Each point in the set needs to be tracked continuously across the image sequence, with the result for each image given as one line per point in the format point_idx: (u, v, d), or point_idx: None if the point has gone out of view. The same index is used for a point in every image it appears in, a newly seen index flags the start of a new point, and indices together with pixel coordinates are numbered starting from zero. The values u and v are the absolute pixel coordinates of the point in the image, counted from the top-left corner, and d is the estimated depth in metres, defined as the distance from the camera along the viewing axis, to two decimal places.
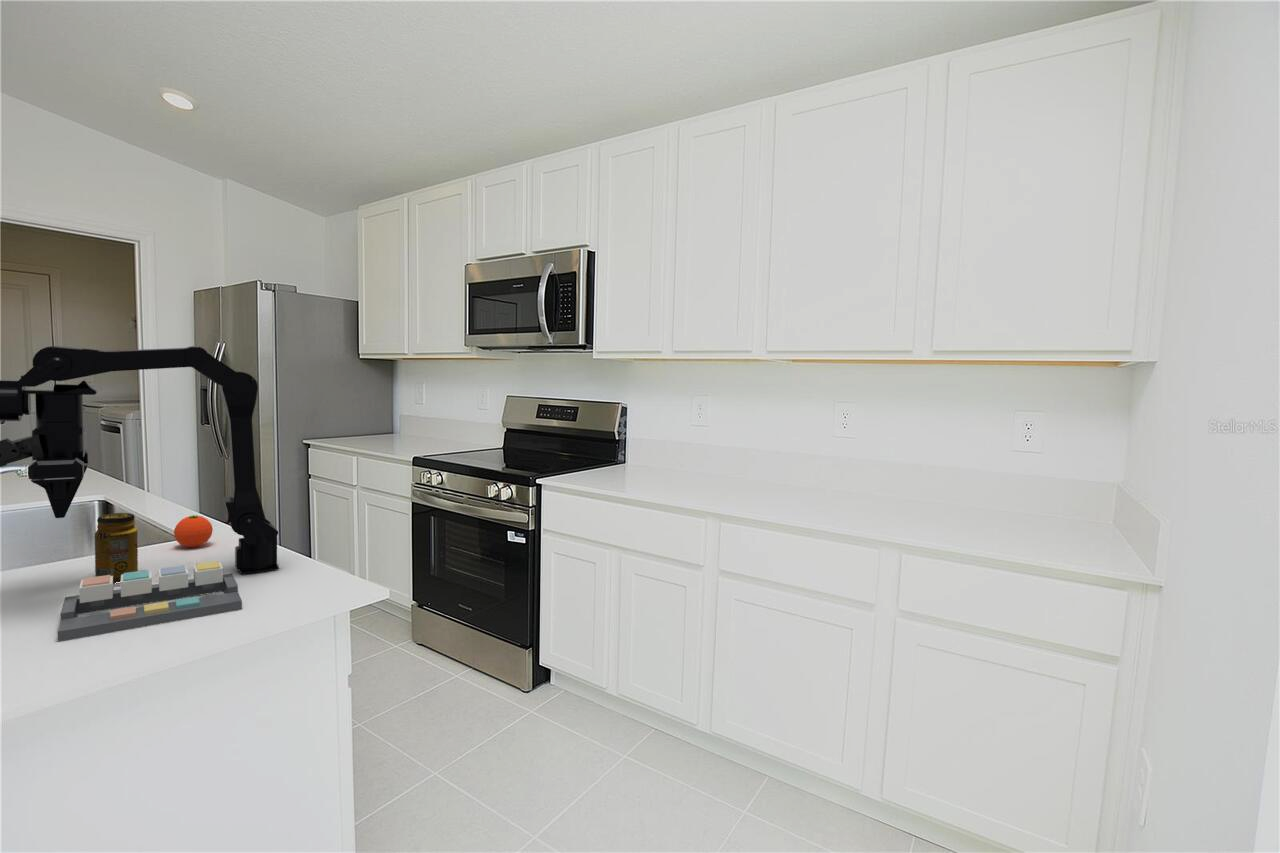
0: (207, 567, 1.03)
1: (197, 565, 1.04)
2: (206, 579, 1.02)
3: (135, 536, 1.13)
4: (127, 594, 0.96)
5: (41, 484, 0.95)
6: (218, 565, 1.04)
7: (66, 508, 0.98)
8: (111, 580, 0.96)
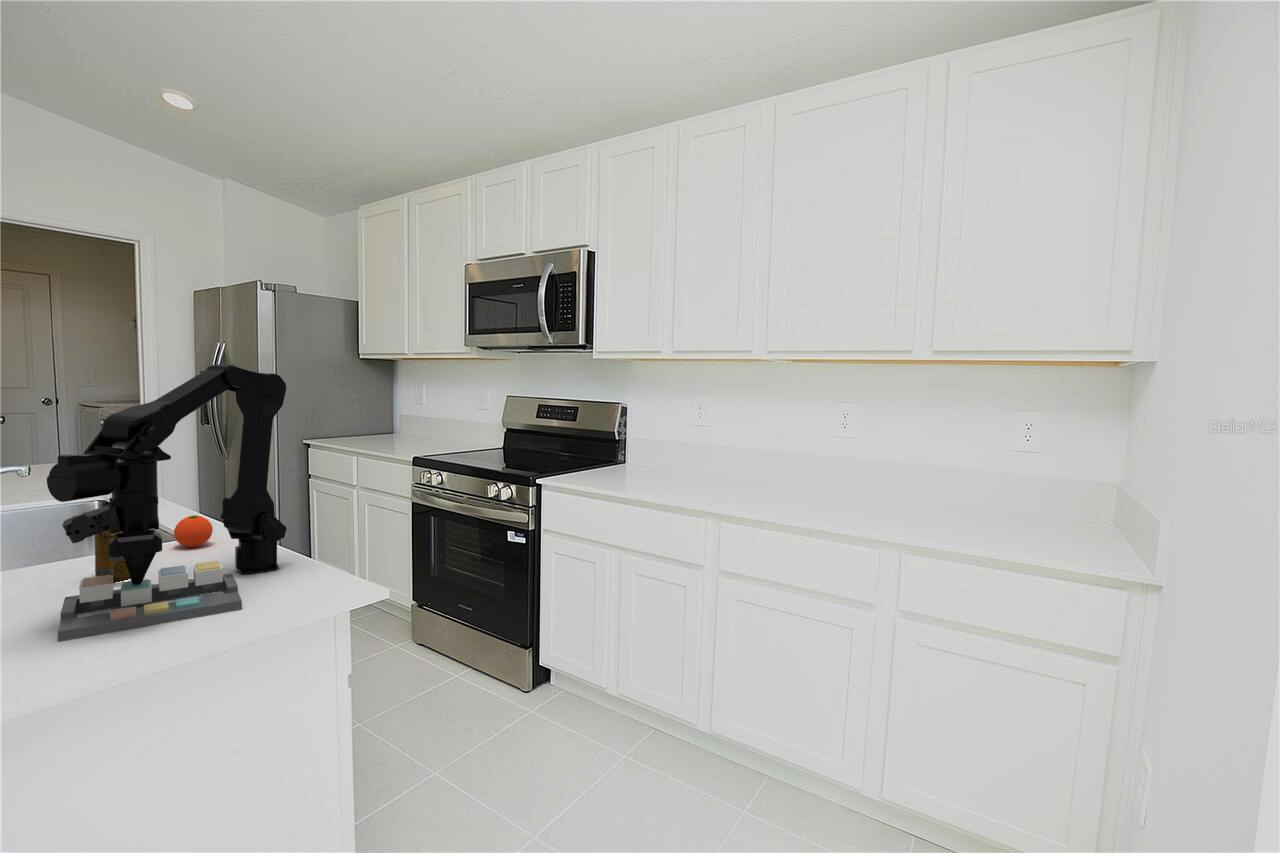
0: (207, 567, 1.03)
1: (197, 565, 1.04)
2: (206, 579, 1.02)
3: None
4: (127, 604, 0.96)
5: None
6: (218, 565, 1.04)
7: (143, 574, 0.98)
8: (111, 580, 0.96)
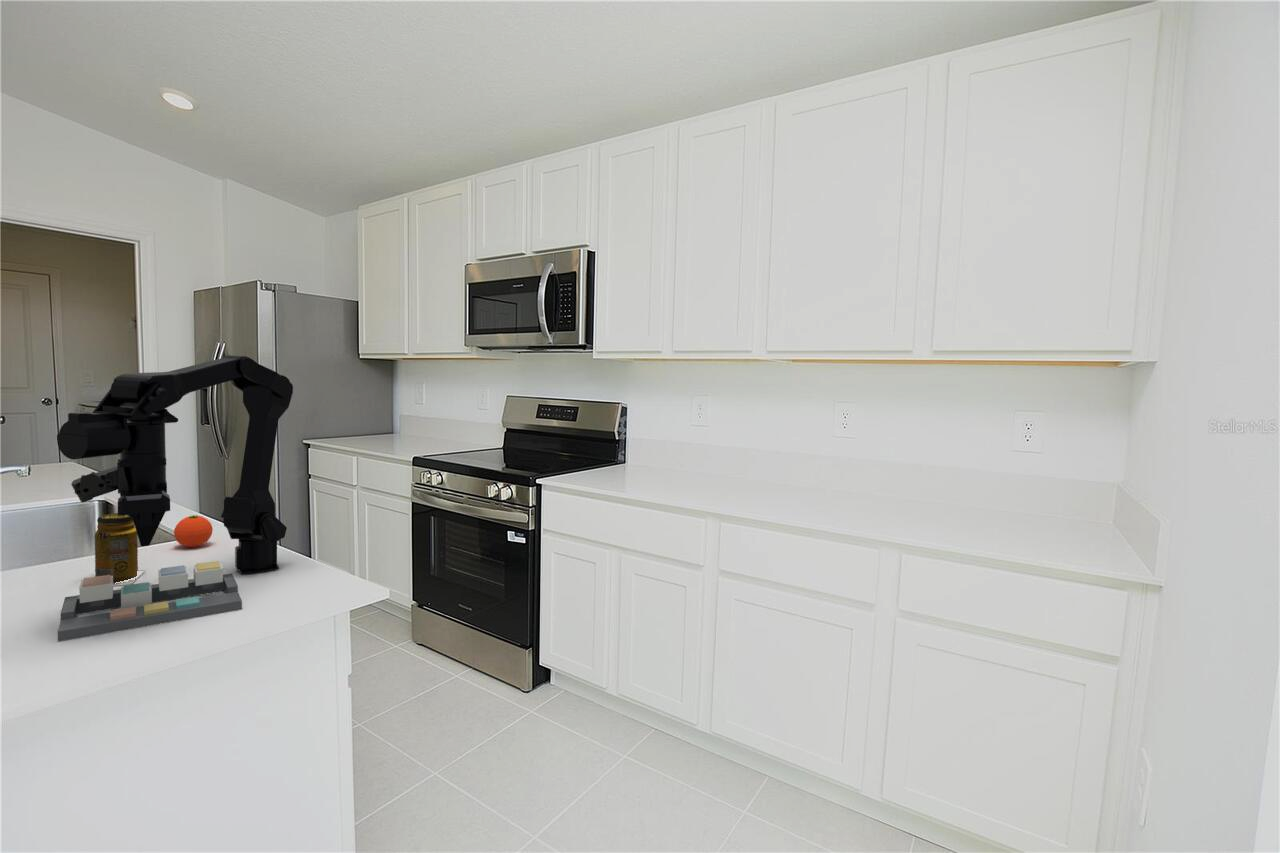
0: (207, 567, 1.03)
1: (197, 565, 1.04)
2: (206, 579, 1.02)
3: (135, 536, 1.13)
4: (127, 607, 0.96)
5: None
6: (218, 565, 1.04)
7: (151, 536, 0.98)
8: (111, 580, 0.96)
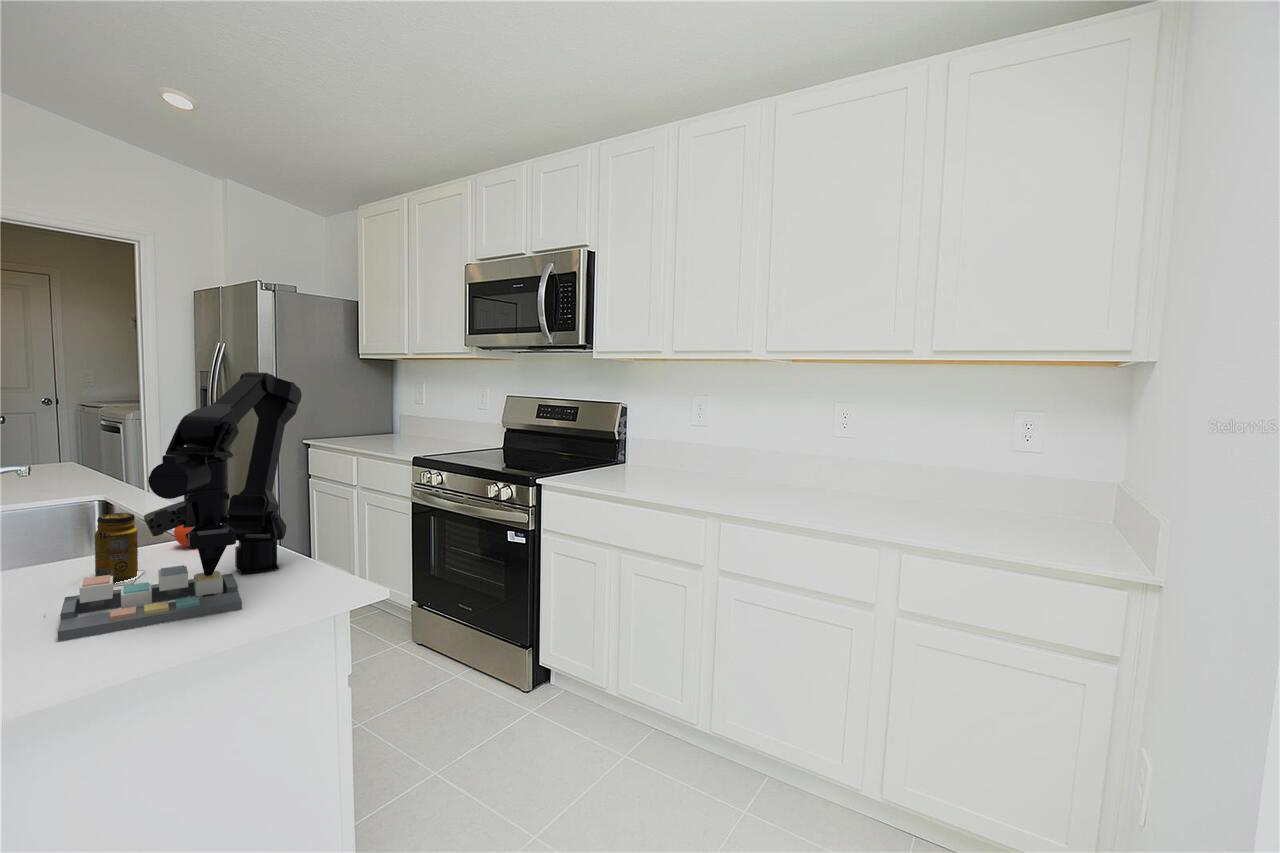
0: (207, 577, 1.03)
1: (197, 575, 1.04)
2: (206, 589, 1.03)
3: (135, 536, 1.13)
4: (127, 607, 0.96)
5: None
6: (218, 575, 1.04)
7: (214, 566, 1.04)
8: (111, 580, 0.96)
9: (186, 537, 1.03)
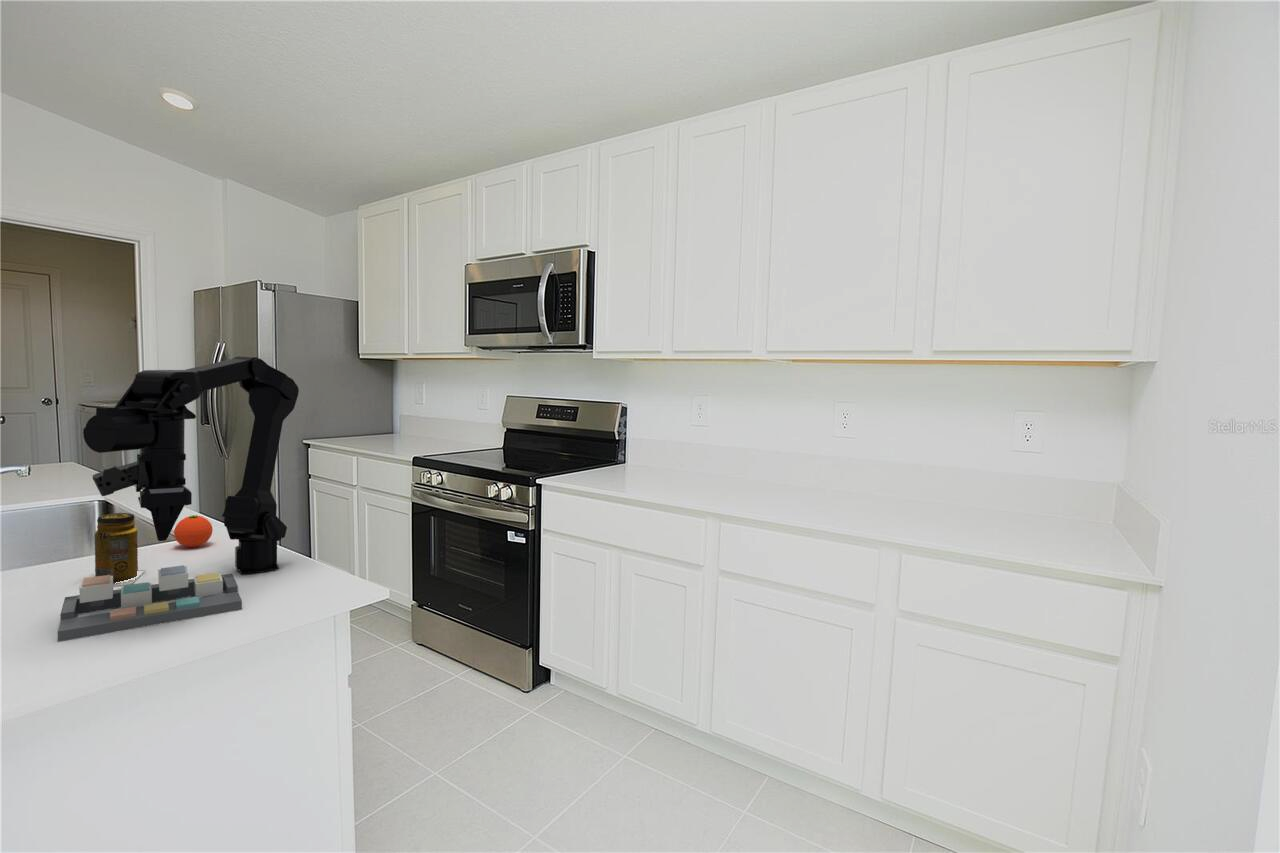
0: (207, 579, 1.03)
1: (197, 577, 1.04)
2: (206, 591, 1.03)
3: (135, 536, 1.13)
4: (127, 607, 0.96)
5: (148, 507, 0.96)
6: (218, 577, 1.04)
7: (169, 531, 0.99)
8: (111, 580, 0.96)
9: (138, 499, 0.98)
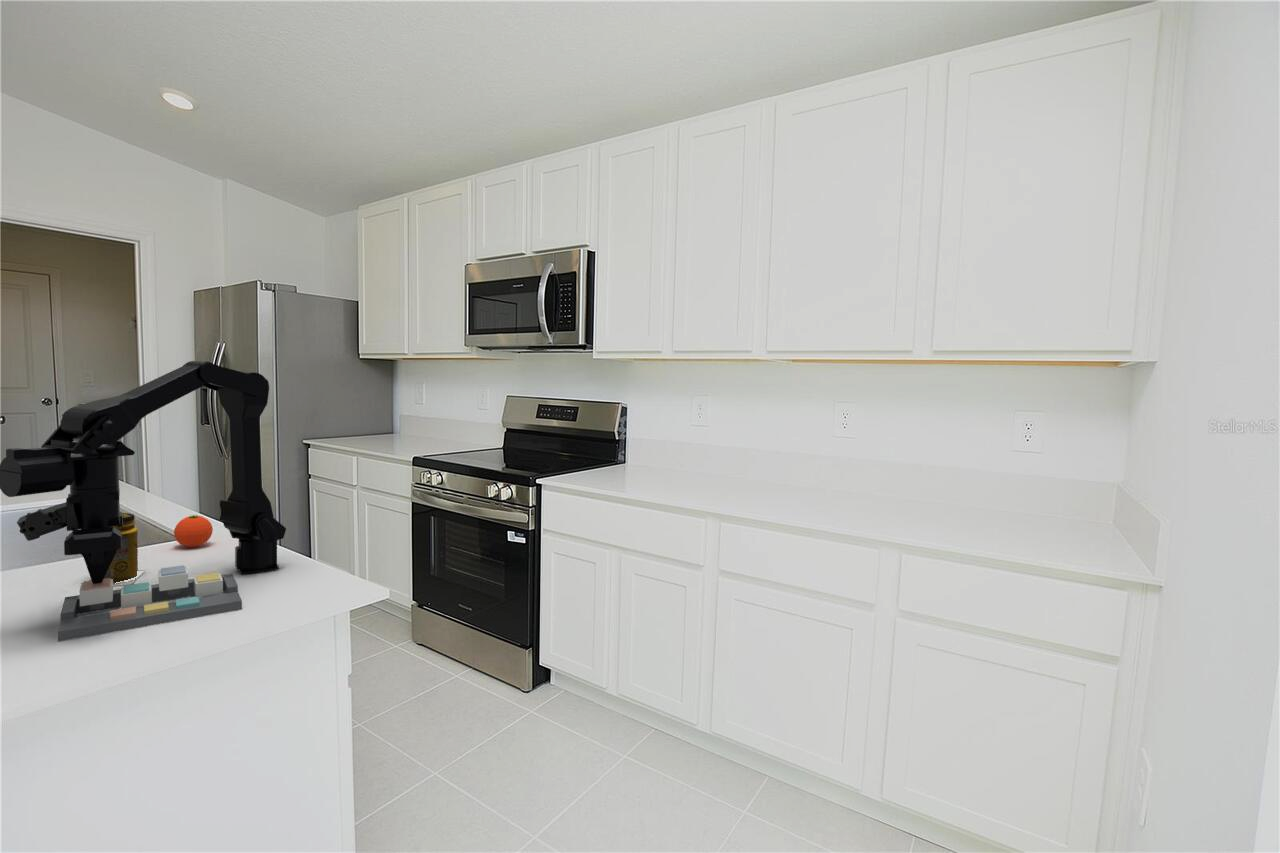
0: (207, 579, 1.03)
1: (197, 577, 1.04)
2: (206, 591, 1.03)
3: (135, 536, 1.13)
4: (127, 607, 0.96)
5: None
6: (218, 577, 1.04)
7: (104, 573, 0.95)
8: (111, 583, 0.96)
9: None
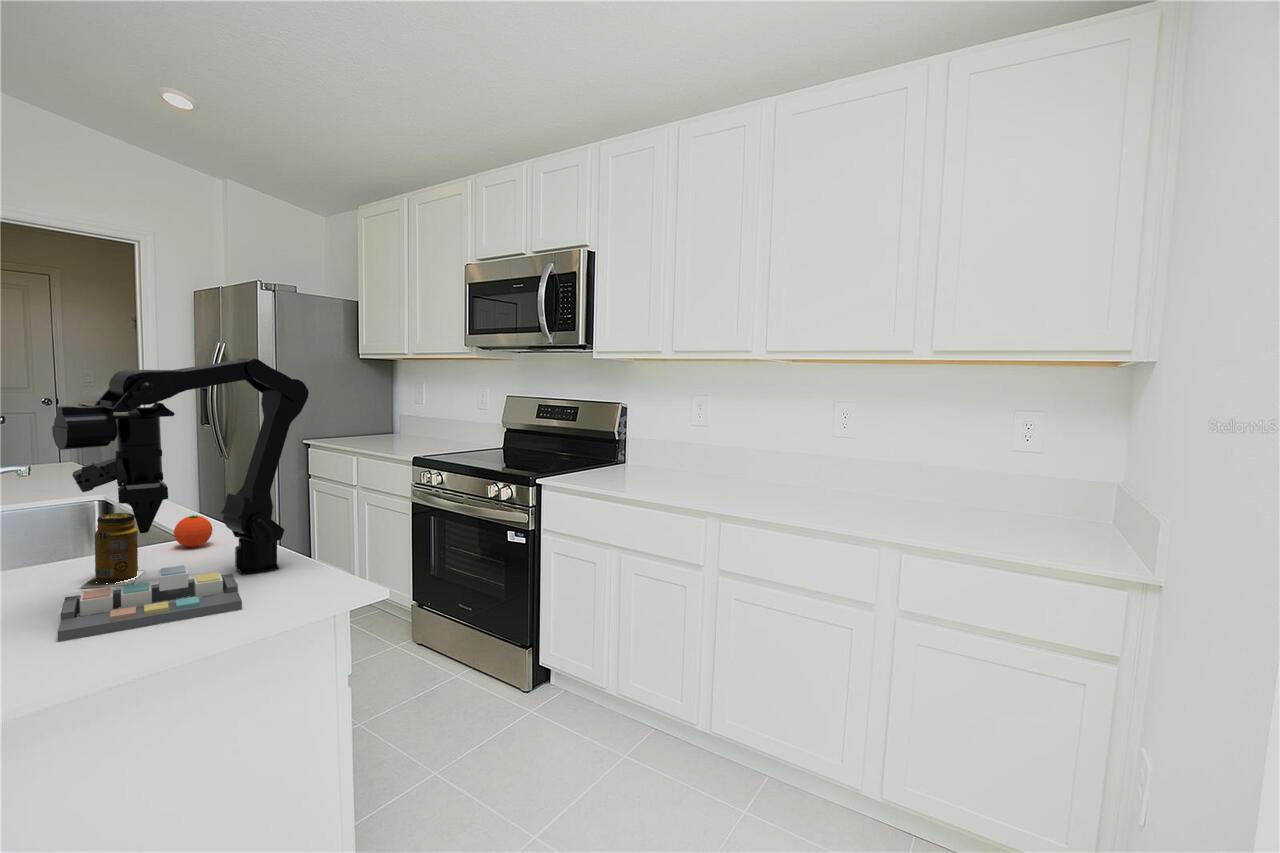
0: (207, 579, 1.03)
1: (197, 577, 1.04)
2: (206, 591, 1.03)
3: (135, 536, 1.13)
4: (127, 607, 0.96)
5: None
6: (218, 577, 1.04)
7: (150, 523, 1.04)
8: (111, 593, 0.96)
9: None
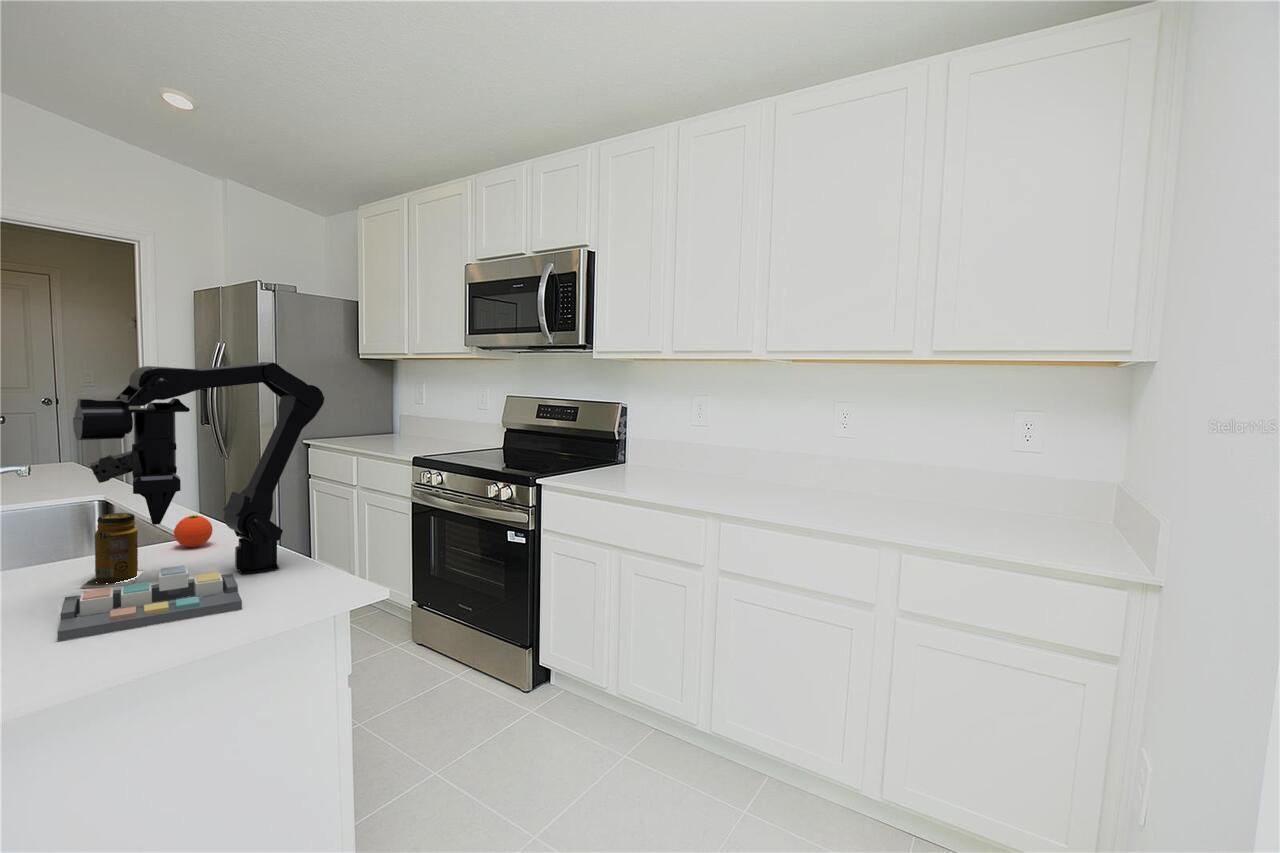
0: (207, 579, 1.03)
1: (197, 577, 1.04)
2: (206, 591, 1.03)
3: (135, 536, 1.13)
4: (127, 607, 0.96)
5: (142, 493, 1.03)
6: (218, 577, 1.04)
7: (162, 515, 1.07)
8: (111, 593, 0.96)
9: None
